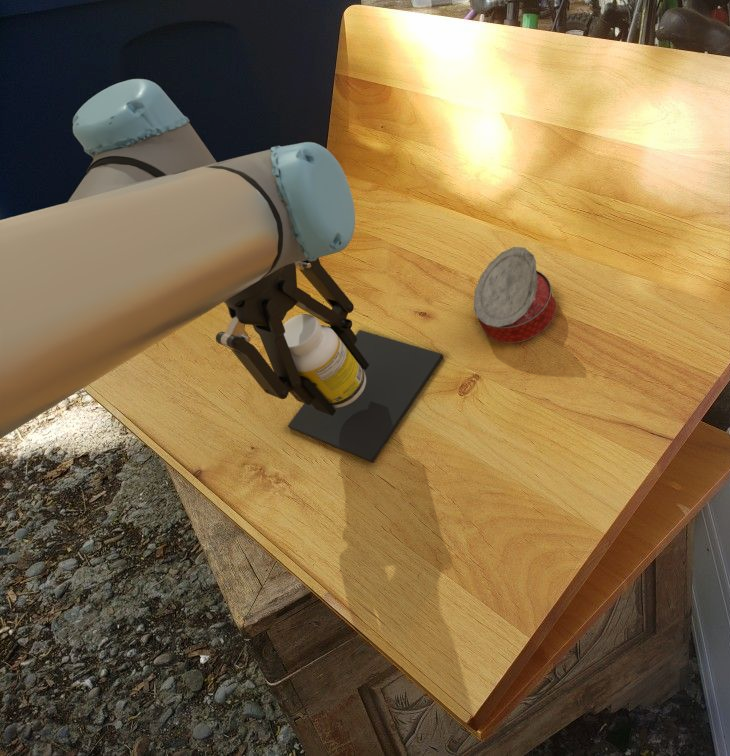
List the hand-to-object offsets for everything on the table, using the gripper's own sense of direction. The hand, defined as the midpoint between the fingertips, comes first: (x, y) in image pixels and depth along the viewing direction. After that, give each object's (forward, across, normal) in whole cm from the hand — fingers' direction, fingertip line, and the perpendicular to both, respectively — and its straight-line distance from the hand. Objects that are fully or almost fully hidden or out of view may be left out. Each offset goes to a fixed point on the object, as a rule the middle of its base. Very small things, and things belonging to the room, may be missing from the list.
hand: (342, 386), depth 81 cm
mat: (+4, -2, 0) cm, 4 cm away
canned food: (+4, -19, +13) cm, 23 cm away
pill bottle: (0, 0, 0) cm, 0 cm away
